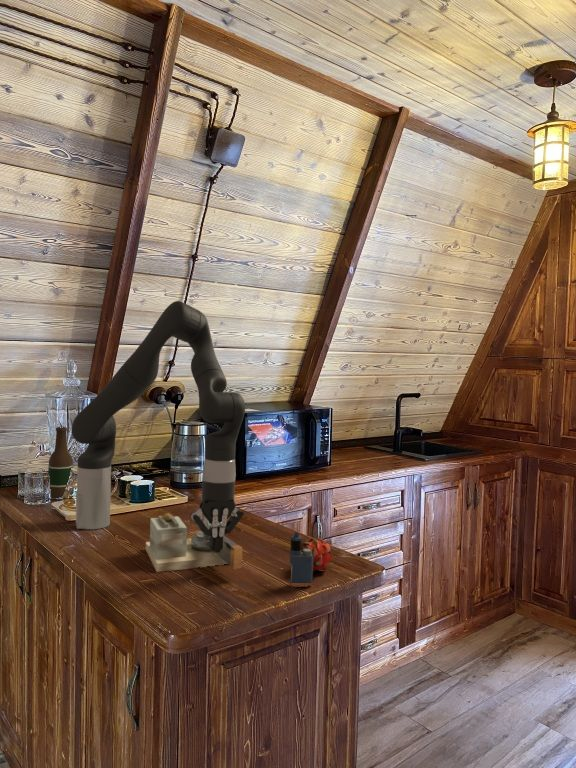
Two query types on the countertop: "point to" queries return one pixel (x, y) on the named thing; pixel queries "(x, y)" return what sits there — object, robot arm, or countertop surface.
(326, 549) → the dragon fruit
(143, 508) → the countertop surface
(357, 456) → the countertop surface
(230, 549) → the cam capstan
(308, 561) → the vaping device
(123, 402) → the robot arm
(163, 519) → the stand
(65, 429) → the beer bottle
